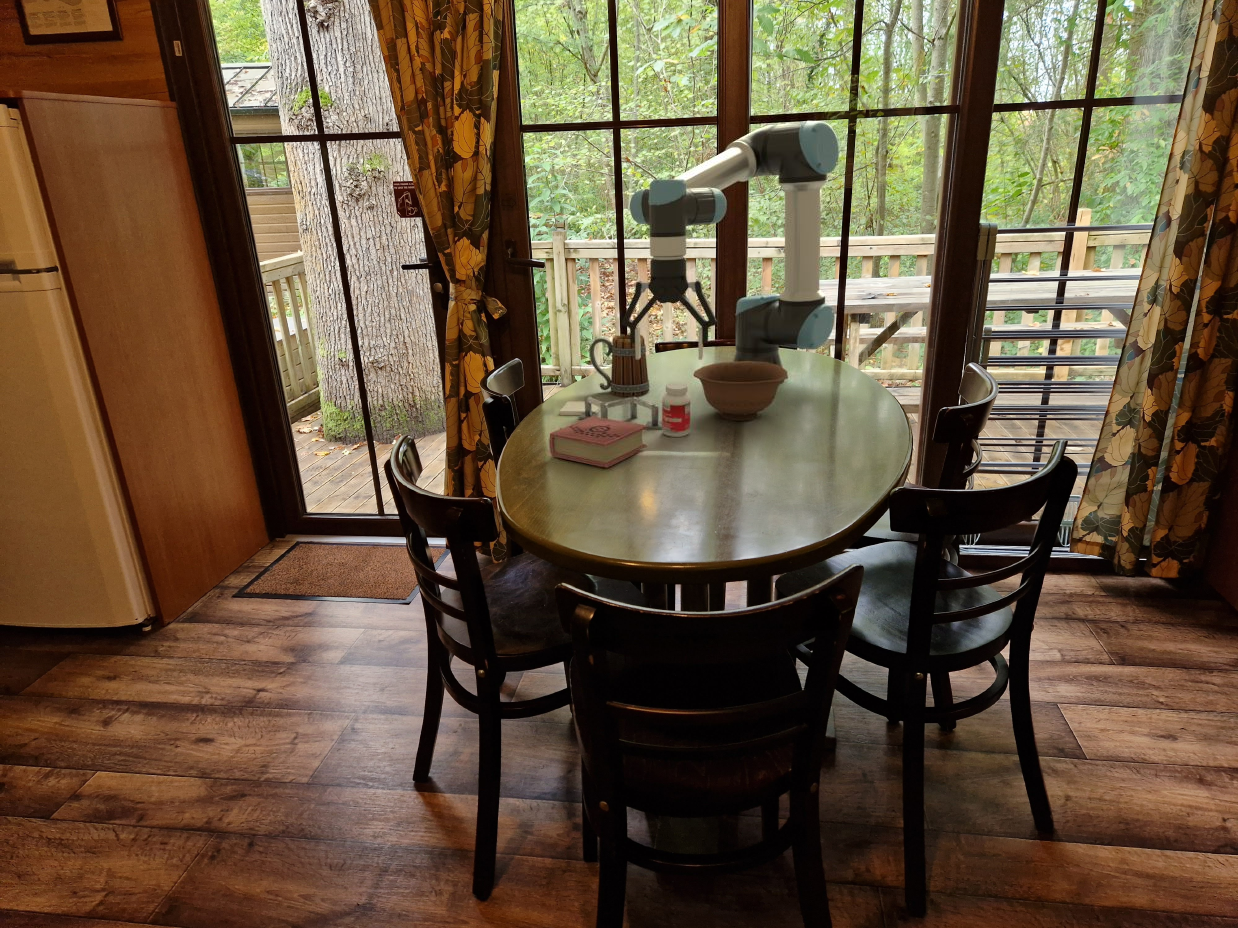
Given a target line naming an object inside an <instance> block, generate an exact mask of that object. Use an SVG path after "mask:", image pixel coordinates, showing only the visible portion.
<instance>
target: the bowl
mask: <svg viewBox="0 0 1238 928" xmlns="http://www.w3.org/2000/svg"><path fill="white" fill-rule="evenodd" d="M693 377H694V378H697V379H698V380H699V381H700V382H701V385H702V389H703V394H704V397H705V400H706V402H707V403H708V405H710V406H711V407H712V408H713V409H715V410H716V411H719V412H720V416H721V417H722V418H723V419H725V420H729V421H736V422H738V421H739V422H740V421H741V422H743V421H752V420H756V419H757V418H758V417H759V413H760V412H762V411H764V410H765V409H766V408H769V407H770V406H771V404H772V403H773V402H774V400H775V398H776V394H777V392H778V388H779V386H780V385H781V383H783V382H782V380H784V381H785V380H787V379H788V378H789V375H788V370H787V369H785V368H784V367H783V368H782V367H781V366H779V365H776V364H772V363H768V362H757V361H739V362H733V361H727V362H726V361H725V362H715V363H712V364H708V365H704V366H702V367H700V368H698V369H697V370H694V372H693Z"/></svg>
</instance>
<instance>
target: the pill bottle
mask: <svg viewBox="0 0 1238 928" xmlns="http://www.w3.org/2000/svg"><path fill="white" fill-rule="evenodd" d="M665 392H666V393H665V394H664V395H663V396H662V403H661V405H662V406H661V408H662V409H661V414H662V415H661V422H662V429H661V431H662V433H663V434H664V435H665V436H667V437H671V438H672V437H673V438H681V437H684V436H687V435H689V433H690V431H691V402H692V401H691V397H690V395H689V394H688V384H686V383H685V382H681V381H678V382H677V381H674V382H672V381H671V382H668V383H666V385H665Z"/></svg>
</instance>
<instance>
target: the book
mask: <svg viewBox="0 0 1238 928" xmlns="http://www.w3.org/2000/svg"><path fill="white" fill-rule="evenodd" d="M644 430H647V429H646V424H639V423H634V422H629V421H622V420H616V419H612V418H611V419H610V418H608V419H605V418H601V417H598V416H597V417H594V416H592V417H589V418H587V419H581V420H578V422H575V423H572V424H570V425H566V426H564V427H559V429H557V430H555V431H551V432H549V438H548V442H549V443H548V445H549V452H550V455H551V457H554V458H558V459H559V458H560V459H565V460H569V461H575V462H578V463H583V464H589V465H592V466H597V467H600V468H601V467H602V468H609V467H611V466H614V465H615V464H617V463H619V462H621V461H624V460H625V459H627V458H629V457H631V456H633V455H636V454H637V453H640V452H642V449H644V448H646V447H648V444H644V442H643V431H644Z"/></svg>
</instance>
